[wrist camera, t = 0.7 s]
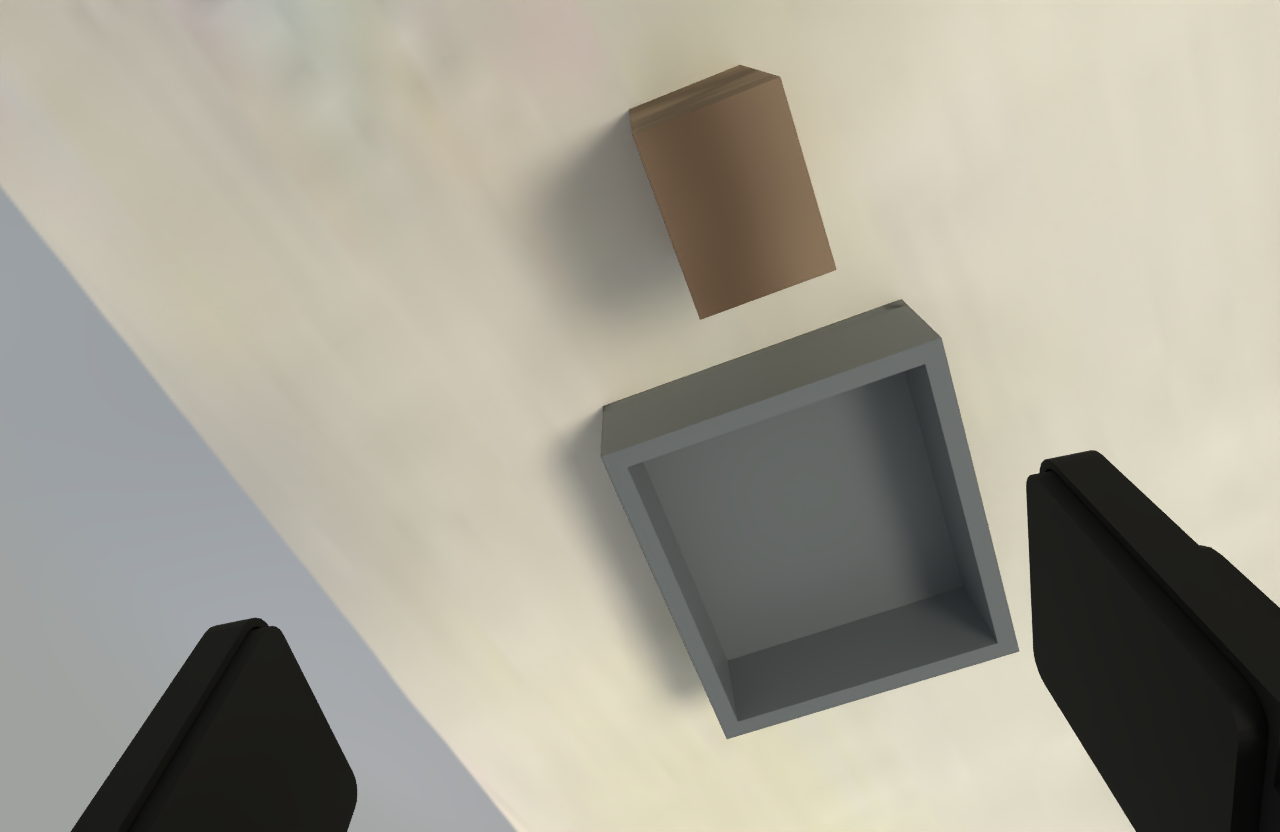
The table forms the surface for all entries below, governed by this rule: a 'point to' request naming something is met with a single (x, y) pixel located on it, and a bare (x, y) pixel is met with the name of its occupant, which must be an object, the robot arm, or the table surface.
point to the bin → (814, 519)
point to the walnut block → (732, 188)
